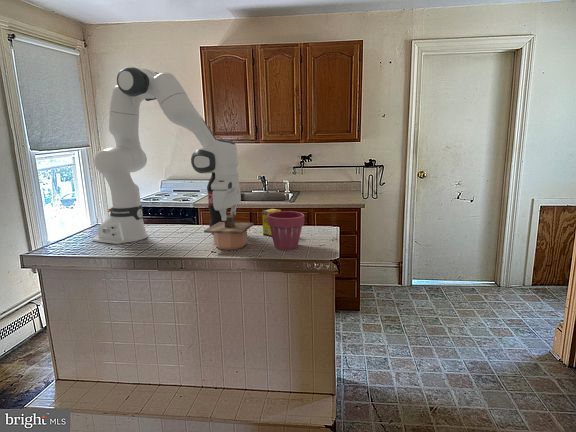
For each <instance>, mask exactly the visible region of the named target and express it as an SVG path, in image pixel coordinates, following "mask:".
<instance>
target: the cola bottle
mask: <svg viewBox="0 0 576 432" xmlns="http://www.w3.org/2000/svg"><path fill="white" fill-rule="evenodd" d="M214 180H215V172H213V173H211V177H210V178H209V180H208V183H207V186H206V190H207V200H208V201H207V204H208V205H207V207H208V211H209V216H210V220H209V227H211V226H213V225H215V224H216V223H218V222H225V221H222V219H221V214H220V211H217V210H215V209H214V206H213V195H212V194H213V190H212V189H211V184H212V183H213V182H214ZM227 213H228V208H227V209H226V215H227ZM227 216H228V215H227ZM209 227H208V228H209Z"/></svg>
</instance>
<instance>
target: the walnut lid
mask: <svg viewBox="0 0 576 432" xmlns="http://www.w3.org/2000/svg"><path fill="white" fill-rule="evenodd" d="M235 219H236V218H235V215H234V216H231V215H227V220H226V221H225V222H218V223H216V224H215V225H213V226H211V227H208V228H206V229H204V230H203V232H204V233H208V234H209V233H210V234H214V233H232V234H242V233H244V232H245V231H246V230H247V231H248V230H249V229H250V228H252V227H253V226H255V223H254V222H243V221H242V222H237V221H236V220H235Z"/></svg>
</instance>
